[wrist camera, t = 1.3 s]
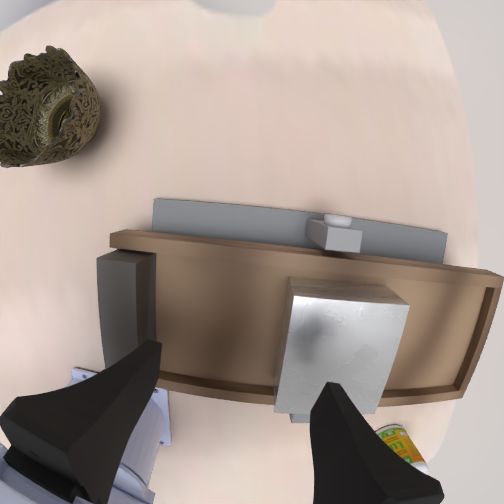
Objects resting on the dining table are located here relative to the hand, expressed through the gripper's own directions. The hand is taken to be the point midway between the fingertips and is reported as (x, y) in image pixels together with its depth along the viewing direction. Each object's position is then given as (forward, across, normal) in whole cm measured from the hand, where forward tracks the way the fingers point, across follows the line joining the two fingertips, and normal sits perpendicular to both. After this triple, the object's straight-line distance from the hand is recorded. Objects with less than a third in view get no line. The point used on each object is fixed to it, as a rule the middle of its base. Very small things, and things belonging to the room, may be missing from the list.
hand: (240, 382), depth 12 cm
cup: (+11, +16, -9) cm, 21 cm away
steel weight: (+6, -5, 0) cm, 8 cm away
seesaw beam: (+6, -4, 0) cm, 8 cm away
